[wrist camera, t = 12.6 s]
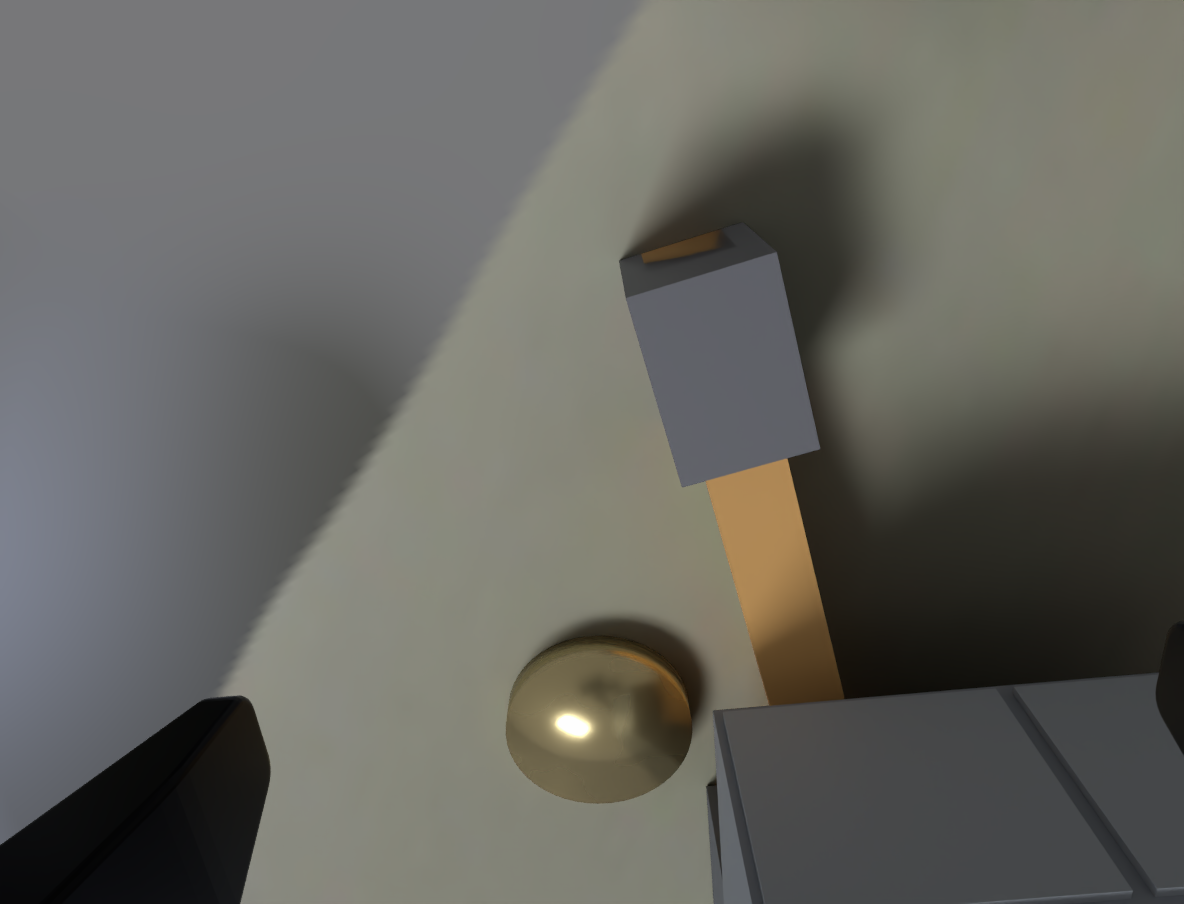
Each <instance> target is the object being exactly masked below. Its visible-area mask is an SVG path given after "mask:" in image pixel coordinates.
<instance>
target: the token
mask: <svg viewBox="0 0 1184 904" xmlns="http://www.w3.org/2000/svg"><path fill="white" fill-rule="evenodd" d="M691 737H692V721H691V715H690V709H689V702H688V697H687V692H686V689H685V686H684V684H683V681H682V679H681V678H680V676H679V674H678V673H677V671H676V670H675V669H674V668H673V666H672V665H671V664H670V663H669V662H668V661H667V660H666V659H665V658H664V657H662V656H661V655H659V654H658V653H657V652H655V651H654V650H652V649H650V648H648V647H646V646H644V645H642V644H639V643H637V642H634V641H631V640H627V639H624V638H618V637H612V636H587V637H581V638H575V639H571V640H568V641H564V642H561V643H559V644H557V645H554V646H552V647H550V648H548V649H547V650H545V651H543V652H541V653H540V654H539V655H537V656H536V657H535V658H534V659H532V660H531V661H530V662H529V663H528V664H527V665H526V666H525V667H524V669H523V670H522V671H521V673H520V674H519V675H518V677H517V679H516V681H515V683H514V685H513V688H512V691H511V694H510V699H509V705H508V713H507V721H506V739H507V745H508V748H509V751H510V754H511V756H512V758H513V760H514V762H515V763H516V765H517V766H518V767H519V769H520V770H521V771H522V772H523V773H524V774H525V776H526V777H527V778H529V779H530V780H531V781H532V782H533V783H535V784H536V785H537V786H539V787H541V788H542V789H544V790H546V791H548V792H550V793H552V794H554V795H556V796H559V797H562V798H565V799H568V800H572V801H577V802H584V803H599V804H600V803H613V802H619V801H624V800H628V799H632V798H635V797H638V796H640V795H643V794H645V793H647V792H649V791H651V790H653V789H655V788H656V787H658V786H659V785H661V784H662V783H664V782H665V781H666V780H667V779H668V778H670V777H671V776H672V775H673V774H674V772H675V771H676V770H677V769H678V768H679V766H680V765H681V764H682V762H683V761H684V759H685V757H686V755H687V752H688V750H689V747H690V743H691Z"/></svg>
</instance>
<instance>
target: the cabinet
mask: <svg viewBox="0 0 1184 904" xmlns="http://www.w3.org/2000/svg"><path fill="white" fill-rule="evenodd" d="M1158 675H1159V672H1157V673H1146V674H1134V675H1122V676H1111V677H1099V678H1087V679H1076V680H1064V681H1052V682H1041V683H1029V684H1017V685H1006V686H994V687H982V688H971V689H959V690H947V691H936V692H924V693H912V694H901V695H889V696H877V697H865V698H854V699H842V700H830V701H819V702H807V703H795V704H784V705H772V706H760V707H749V708H737V709H725V710H714V711H713V723H714V740H715V758H716V775H717V785H716V786H706V789H707V805H708V820H709V836H710V852H711V867H712V883H713V898H714V904H1184V756H1183V754H1182V752H1181V750H1180V749H1179V747H1178V745H1177V743H1176V742H1175V740H1174V738H1173V736H1172V735H1171V733H1170V731H1169V729H1168V728H1167V726H1166V724H1165V723H1164V721H1163V719H1162V717H1161V715H1160V713H1159V710H1158V707H1157V703H1156V693H1155V691H1156V684H1157V679H1158Z"/></svg>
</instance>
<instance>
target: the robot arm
mask: <svg viewBox="0 0 1184 904" xmlns="http://www.w3.org/2000/svg"><path fill="white" fill-rule="evenodd" d="M1155 693H1156V703H1157V707H1158V710H1159V713H1160V715H1161V717H1162V719H1163V721H1164V723H1165V724H1166V726H1167V728H1168V729H1169V731H1170V733H1171V735H1172V736H1173V738H1174V740H1175V742H1176V743H1177V745H1178V747H1179V749H1180V750H1181V752H1182V754H1183V756H1184V621H1180V622H1178V623H1176V624H1174V625H1173V626H1172V627H1171V629H1170V630H1169V632H1168V635H1167V638H1166V643H1165V647H1164V652H1163V657H1162V661H1161V666H1160V670H1159V675H1158V679H1157V684H1156V691H1155ZM269 782H270V760H269V755H268V752H267V749H266V746H265V743H264V739H263V736H262V733H261V730H260V727H259V723H258V720H257V717H256V714H255V711H254V708H253V706H252V703H251V702H250V701H249V699H247V698H246V697H243V696H227V697H214V698H207V699H204V700H202V701H200V702H198V703H197V704H196V705H194V706H193V707H191V708H190V709H189V710H187V711H186V712H184V713H183V714H182V715H180V716H179V717H177V718H176V719H175V720H173V721H172V722H171V723H169V724H168V725H166V726H165V727H164V728H162V729H161V730H159V731H158V732H157V733H155V734H154V735H152V736H151V737H150V738H148V739H147V740H146V741H144V742H143V743H142V744H140V745H139V746H137V747H136V748H134V749H133V750H132V751H130V752H129V753H128V754H126V755H125V756H123V757H122V758H121V759H119V760H118V761H116V762H115V763H114V764H112V765H111V766H109V767H108V768H107V769H105V770H104V771H102V772H101V773H100V774H98V775H97V776H96V777H94V778H93V779H91V780H90V781H89V782H88V783H86V784H84V785H83V786H82V787H81V788H79V789H78V790H76V791H75V792H73V793H72V794H71V795H69V796H68V797H67V798H65V799H64V800H62V801H61V802H60V803H58V804H57V805H55V806H54V807H52V808H51V809H50V810H48V811H47V812H45V813H44V814H43V815H42V816H40V817H39V818H37V819H36V820H34V821H33V822H32V823H30V824H29V825H28V826H26V827H25V828H23V829H22V830H21V831H19V832H18V833H16V834H15V835H14V836H12V837H11V838H9V839H8V840H7V841H5V842H4V843H2V844H1V845H0V904H240V902H241V898H242V894H243V890H244V886H245V882H246V878H247V874H248V869H249V865H250V861H251V857H252V853H253V849H254V845H255V841H256V837H257V832H258V828H259V824H260V820H261V816H262V812H263V808H264V804H265V800H266V795H267V791H268V787H269Z"/></svg>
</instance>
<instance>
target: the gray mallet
mask: <svg viewBox="0 0 1184 904" xmlns="http://www.w3.org/2000/svg"><path fill="white" fill-rule="evenodd" d="M619 263H620V269H621V274H622V280H623V285H624V291H625V296H626V301H627V304H628V307H629V311H630V314H631V317H632V321H633V324H634V327H635V331H636V334H637V338H638V341H639V344H640V348H641V351H642V354H643V358H644V361H645V364H646V368H647V371H648V375H649V378H650V381H651V385H652V388H653V391H654V395H655V398H656V401H657V405H658V408H659V412H660V415H661V418H662V422H663V425H664V428H665V432H666V435H667V438H668V442H669V445H670V449H671V452H672V455H673V459H674V462H675V465H676V469H677V472H678V475H679V479H680V482H681V486H682V487H686V486H689V485H693V484H697V483H700V482H704V481H706V485H707V488H708V492H709V495H710V499H711V502H712V506H713V509H714V513H715V516H716V520H717V523H718V527H719V530H720V534H721V537H722V541H723V544H724V548H725V552H726V555H727V559H728V562H729V566H730V569H731V573H732V576H733V580H734V583H735V587H736V590H737V594H738V597H739V601H740V604H741V608H742V611H743V615H744V618H745V622H746V625H747V629H748V632H749V636H750V640H751V643H752V647H753V650H754V654H755V657H756V661H757V664H758V668H759V671H760V675H761V678H762V682H763V685H764V689H765V692H766V696H767V699H768V703H769V706H772V705H784V704H795V703H807V702H819V701H830V700H842V699H845V698H844V693H843V689H842V685H841V681H840V677H839V673H838V668H837V664H836V660H835V656H834V652H833V647H832V643H831V639H830V635H829V631H828V626H827V622H826V618H825V614H824V610H823V606H822V601H821V597H820V593H819V589H818V585H817V580H816V576H815V572H814V568H813V564H812V560H811V555H810V551H809V547H808V543H807V539H806V534H805V530H804V526H803V522H802V518H801V513H800V509H799V505H798V501H797V497H796V493H795V488H794V484H793V480H792V476H791V472H790V467H789V463H788V459H787V458H790V457H794V456H797V455H801V454H805V453H808V452H812V451H815V450H819V449H820V445H819V441H818V436H817V432H816V427H815V423H814V418H813V414H812V409H811V405H810V400H809V395H808V391H807V386H806V382H805V377H804V373H803V368H802V364H801V359H800V355H799V350H798V346H797V341H796V337H795V332H794V328H793V323H792V319H791V314H790V309H789V305H788V300H787V296H786V291H785V287H784V282H783V278H782V273H781V269H780V264H779V260H778V255H777V252H776V251H775V250H774V249H773V248H772V247H771V246H770V245H768V244H767V243H766V242H765V241H764V240H763V239H762V238H761V237H759V236H758V235H757V234H756V233H755V232H754V231H753V230H752V229H750V228H749V227H748V226H747V225H746V224H745V223H744V222H741V223H738V224H735V225H732V226H729V227H725V228H722V229H719V230H716V231H713V232H709V233H706V234H703V235H700V236H697V237H693V238H690V239H687V240H684V241H681V242H677V243H674V244H671V245H668V246H665V247H661V248H658V249H655V250H652V251H649V252H645V253H642V254H639V255H636V256H633V257H629V258H626V259H623V260H620V261H619Z"/></svg>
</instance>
